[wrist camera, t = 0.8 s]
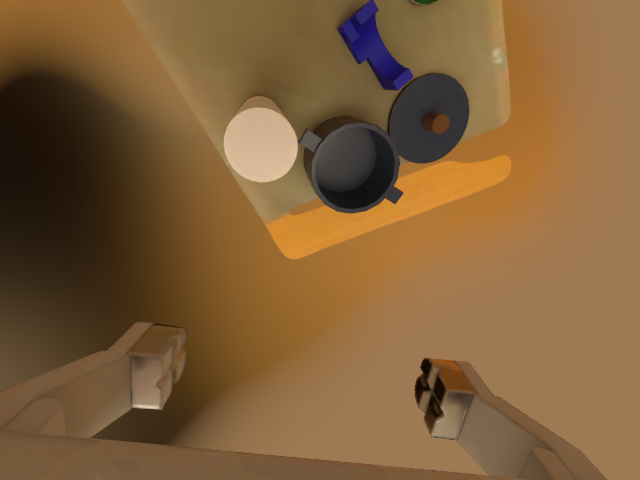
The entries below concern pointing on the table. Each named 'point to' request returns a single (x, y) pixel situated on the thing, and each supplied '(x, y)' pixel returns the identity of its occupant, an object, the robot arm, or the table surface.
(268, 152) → the cylindrical container
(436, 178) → the table surface
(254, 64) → the table surface
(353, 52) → the cable clip
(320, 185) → the pot
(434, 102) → the pot lid
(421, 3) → the soda can
